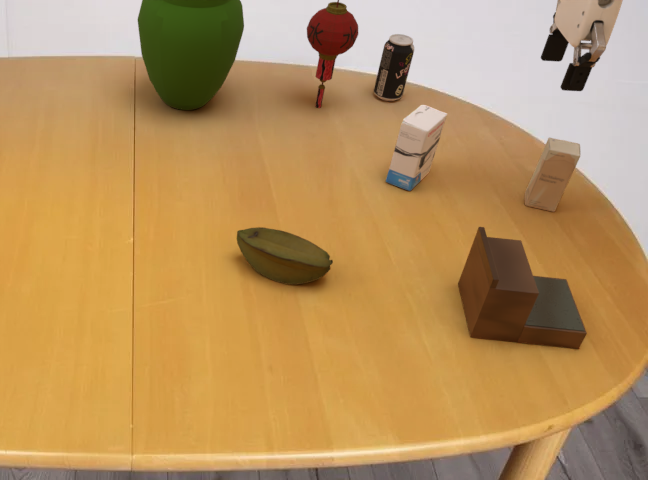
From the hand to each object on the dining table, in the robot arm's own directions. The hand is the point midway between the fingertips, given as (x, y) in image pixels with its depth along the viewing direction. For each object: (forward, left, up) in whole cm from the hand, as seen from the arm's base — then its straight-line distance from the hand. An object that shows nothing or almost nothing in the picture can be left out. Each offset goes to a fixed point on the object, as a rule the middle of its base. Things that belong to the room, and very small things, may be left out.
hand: (560, 74), depth 132 cm
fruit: (+39, +24, -24) cm, 51 cm away
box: (-5, -2, -24) cm, 24 cm away
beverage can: (+18, -36, -24) cm, 46 cm away
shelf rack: (+5, +29, -24) cm, 38 cm away
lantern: (+32, -29, -24) cm, 49 cm away
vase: (+58, -26, -24) cm, 67 cm away
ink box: (+17, -6, -24) cm, 30 cm away
